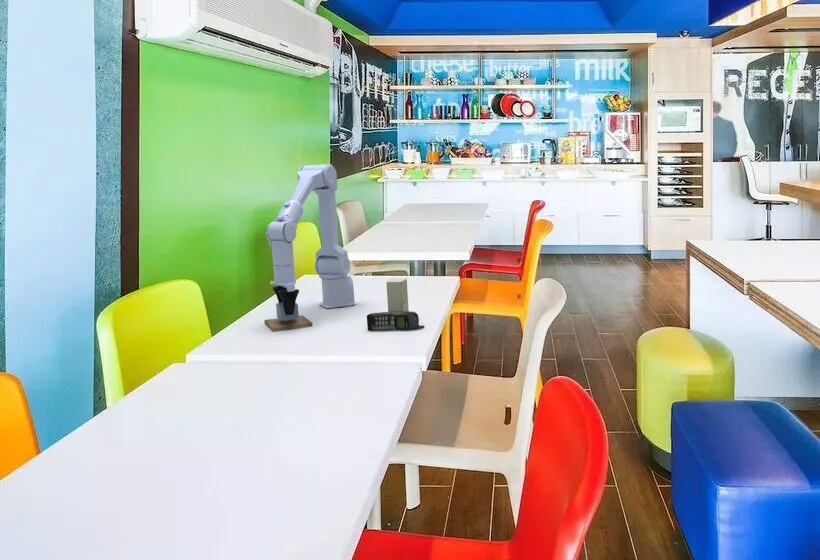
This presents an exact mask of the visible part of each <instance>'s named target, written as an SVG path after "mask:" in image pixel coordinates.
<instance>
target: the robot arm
mask: <svg viewBox="0 0 820 560" xmlns="http://www.w3.org/2000/svg"><path fill="white" fill-rule="evenodd" d="M297 181H298V182H297V185H296V186H295V188H294V191H293V193H292V196H291V198H290V200H286V201H285V202H284V203H283V205H282V207H281V209H280V210H279V212H278V215H277V217H276V218H275V220H274V221H271V222H270V223H269V224H268V225H267V227H266V232H265V237H266V239H267V241H268V243H269V248H270V249H271V254H272V256H271V257H272V265H273V266H272V269H273V278H274V279H273V280H270V281H269V284H270V285H271V286H272V285H273V287H272V290H273V292H274V295H275V296H276V298H277V301H278V302H277V303H283V307H284V311H285V314H286V315H293V314H294V309H295V303H297V301H296V300H297V298H298V295H299V293H300V290H299V289H298V288H297V289H296V286H295V285H296V283H297V279H296V271H295V259H294V257H295V256H294V244H293V243H294V242H293V241H295V239H296V237H297V229H298V223H299V221H300V219H301V217H302V216H303V214H304V208H303V205H304V204H305V202H306V200H307V198H308V197H309V195H310V194H311V192H314V194H316V195H317V197H318V198H317V199H318V213H319V224H320V236H321V237H320V239H321V240H320V241H321V247H320V248H319V249H318V250H317V251H316V252H315V261H314V271H315V273H316V274H317V275H318V278H320V279H321V291H322V302H318V304H319V305H320V306H321V307H323V308H324V309H333V308H334V309H335V308H340V307H341V308H342V307H349V306H355V305H356V303H355V291H354V290H355V287H354V281H353V277H352V276H350V275H348V274H349V272H350V269H351V262H350V259H349V256H348V255H349V254H348V251H347V249H345V248H344V247H342V246H340V245H339V244H340V243H339V230H338V229H339V228H338V216H337V202H336V198H337V197H336V191H338V177H337V169H336V168H335V167H334V166H333V165H332V164H331V163H327V164H302V165H301V166H300V167H299V169H298V172H297ZM274 285H275V286H274Z"/></svg>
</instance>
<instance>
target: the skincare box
mask: <svg viewBox="0 0 820 560" xmlns="http://www.w3.org/2000/svg"><path fill="white" fill-rule="evenodd" d="M407 279H408V278H407V277H406V278H405V277H404V278H403V277H402V278H401V277H400V278H398V277H397V278H394V277H393V278H391V279H389V280H387V281H386V283H385V284H386V294H387V296H386V297H387V312H398V311H409V310H410V309H409V297H408V280H407Z"/></svg>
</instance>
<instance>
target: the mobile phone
mask: <svg viewBox="0 0 820 560" xmlns="http://www.w3.org/2000/svg"><path fill="white" fill-rule="evenodd" d="M366 323H367V325H366V326H367V331H369V332H383V331H385V332H386V331H397V332H398V331H409V330H410V331H411V330H414V329H424V328H425V325H420V324H419V323H420V317H419V314H418V313H417V312H416V311H398V312H388V311H383V312H382V311H381V312H373V313H372V312H371V313H368V314H367V315H366Z"/></svg>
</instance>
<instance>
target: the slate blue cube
mask: <svg viewBox="0 0 820 560" xmlns="http://www.w3.org/2000/svg"><path fill="white" fill-rule="evenodd" d="M275 307H276V317H277V318H278V319H280V320H281V321H283V320H291V319H299V316H300V315H299V314H300V313H299V305H298V303H297V302H295V309H294V314H293V315H286V314H285V311H284V307H283V303H279V302H277V303H275Z"/></svg>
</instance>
